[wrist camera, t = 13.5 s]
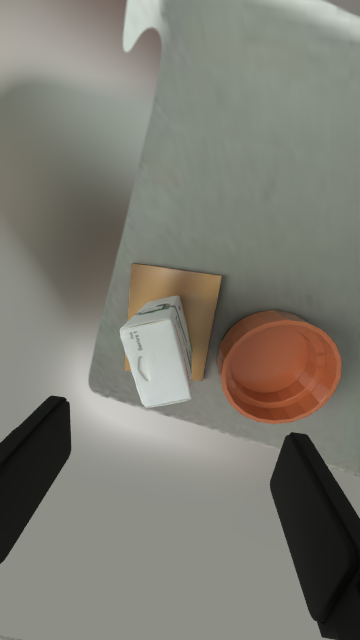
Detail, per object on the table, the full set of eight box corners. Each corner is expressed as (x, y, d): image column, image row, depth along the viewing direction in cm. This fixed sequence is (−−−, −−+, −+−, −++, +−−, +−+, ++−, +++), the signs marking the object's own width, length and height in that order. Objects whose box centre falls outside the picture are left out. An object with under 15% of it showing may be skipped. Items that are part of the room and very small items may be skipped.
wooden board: (221, 275, 29) (222, 275, 28) (201, 378, 34) (202, 381, 33) (133, 263, 29) (131, 263, 28) (126, 367, 34) (124, 370, 33)
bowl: (333, 318, 30) (360, 330, 25) (301, 406, 34) (319, 430, 29) (227, 303, 30) (234, 312, 25) (209, 393, 34) (212, 415, 30)
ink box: (193, 350, 31) (195, 403, 20) (160, 356, 32) (144, 412, 21) (179, 293, 29) (172, 317, 18) (144, 301, 30) (115, 330, 18)
